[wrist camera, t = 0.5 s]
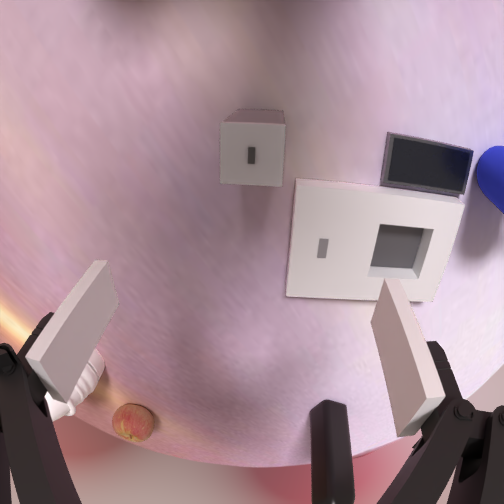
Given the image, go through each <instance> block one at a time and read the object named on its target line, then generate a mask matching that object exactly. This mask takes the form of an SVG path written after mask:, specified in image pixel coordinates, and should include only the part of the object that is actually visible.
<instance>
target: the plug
mask: <svg viewBox="0 0 504 504" xmlns="http://www.w3.org/2000/svg"><path fill="white" fill-rule="evenodd" d="M285 132H286V124H285V121H284V113H283V111H279V110H259V109H238V110H237V111H236V112H234V113H233V114H232V115H231V116H229V117H228V118H227V119H226V120H224V121H223V122H220V184H236V185H256V186H274V187H282V182H283V166H284V150H285Z"/></svg>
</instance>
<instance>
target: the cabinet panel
mask: <svg viewBox="0 0 504 504" xmlns="http://www.w3.org/2000/svg"><path fill="white" fill-rule="evenodd" d="M464 207H465V204H463V203H462V202H461V201H460V200H459V199H458V198H457V197H454V196H448V195H441V194H435V193H428V192H421V191H414V190H407V189H399V188H392V187H383V186H375V185H366V184H357V183H347V182H337V181H326V180H314V179H301V178H296V181H295V194H294V205H293V217H292V228H291V239H290V249H289V259H288V269H287V278H286V296H290V297H308V298H327V299H350V300H378V298H379V295H380V291H381V288H382V285H383V281H384V278H389V279H399V280H400V282H401V284H402V286H403V288H404V291H405V293H406V295H407V297H408V300H409V301H417V302H433V299H434V297H435V294H436V292H437V289H438V286H439V284H440V281H441V279H442V276H443V273H444V270H445V268H446V265H447V262H448V259H449V256H450V253H451V250H452V247H453V244H454V241H455V238H456V235H457V231H458V228H459V225H460V221H461V218H462V214H463V211H464Z"/></svg>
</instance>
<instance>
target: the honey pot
mask: <svg viewBox="0 0 504 504" xmlns="http://www.w3.org/2000/svg"><path fill="white" fill-rule="evenodd" d="M104 368H105V364H104V360H103V358H102V356H101V355H100V353H99V352H98V350H97V349H96V348H95V349H94V351H93V353H92V355H91V357H90V359H89V361H88V362H87V364H86V366H85V368H84V370H83V372H82V374H81V376H80V378H79V380H78V382H77V384H76V386H75V388H74V390H73V392H72V394H71V396H70V398H69V400H68V403H67V404H66V403H63V402H60V401H57V400H54V399H53V398H52V397H51V396H50V394H49V393H48V391H47V393H46V395H45V398H46V400H47V403H48V407H49V411H50V415H51V418H52V421H55V420H57V419H59V418H61V417H62V416H64V415H66V416H71V415H74V414H75V412H76V408H75V407H76V406H77V405H78V404H79V403H81V402H83V400H84V399H85V398H86V397H87V396H88V394H90V393H92V392H93V391H94V390H95V387H96V385H97V383H98V381H99V379H100V377H101V375H102V373H103V371H104Z"/></svg>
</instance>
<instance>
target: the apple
mask: <svg viewBox="0 0 504 504" xmlns="http://www.w3.org/2000/svg"><path fill="white" fill-rule="evenodd" d="M112 425H113V428H114V431H115V432H116V433H117V434H118V435H119V436H120V437H121V438H123V439H125V440H128V441H133V442H143V441H145V440H147V439H148V438H149V437H150V436H151V434H152V432H153V428H154V419H153V416H152V414H151V413H150V412H149V411H148V410H147V409H146V408H144V407H142V406H139V405H134V404H125V405H123V406H121V407H120V408H118V409H117V411H116V412H115V414H114V416H113V419H112Z"/></svg>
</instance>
